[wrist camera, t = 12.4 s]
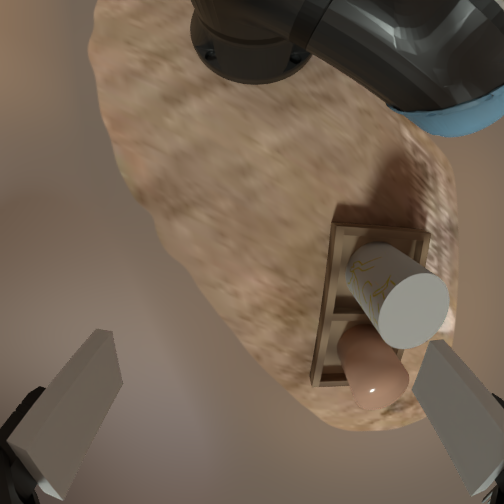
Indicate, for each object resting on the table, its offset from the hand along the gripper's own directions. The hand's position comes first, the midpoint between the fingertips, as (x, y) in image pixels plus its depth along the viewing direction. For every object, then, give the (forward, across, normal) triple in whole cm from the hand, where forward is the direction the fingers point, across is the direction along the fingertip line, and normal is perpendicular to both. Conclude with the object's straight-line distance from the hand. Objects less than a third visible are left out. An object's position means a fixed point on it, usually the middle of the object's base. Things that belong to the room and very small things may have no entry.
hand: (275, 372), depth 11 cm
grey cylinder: (+26, +15, -4) cm, 31 cm away
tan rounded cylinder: (+26, +15, -16) cm, 34 cm away
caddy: (+27, +15, -10) cm, 32 cm away
